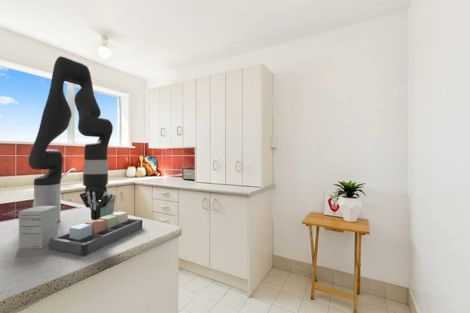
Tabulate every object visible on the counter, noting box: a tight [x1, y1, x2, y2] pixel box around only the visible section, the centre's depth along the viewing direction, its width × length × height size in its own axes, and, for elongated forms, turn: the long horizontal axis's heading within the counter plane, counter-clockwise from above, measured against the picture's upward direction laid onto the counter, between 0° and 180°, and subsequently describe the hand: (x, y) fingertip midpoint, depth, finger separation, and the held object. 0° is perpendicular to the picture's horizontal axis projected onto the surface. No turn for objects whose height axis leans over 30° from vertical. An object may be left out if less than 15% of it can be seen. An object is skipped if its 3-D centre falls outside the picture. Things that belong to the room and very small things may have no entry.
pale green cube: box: [100, 215, 117, 229], centre depth 83 cm, size 4×4×4 cm
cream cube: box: [111, 211, 129, 224], centre depth 88 cm, size 4×4×4 cm
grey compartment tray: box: [48, 218, 143, 257], centre depth 80 cm, size 15×26×4 cm, turn 164°
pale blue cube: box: [68, 223, 92, 240], centre depth 72 cm, size 4×4×4 cm
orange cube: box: [84, 219, 105, 234], centre depth 78 cm, size 4×4×4 cm
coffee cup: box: [100, 192, 117, 217], centre depth 102 cm, size 9×8×12 cm
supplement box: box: [18, 206, 59, 250], centre depth 74 cm, size 7×7×13 cm
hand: (95, 219), depth 77 cm, fingers closed
